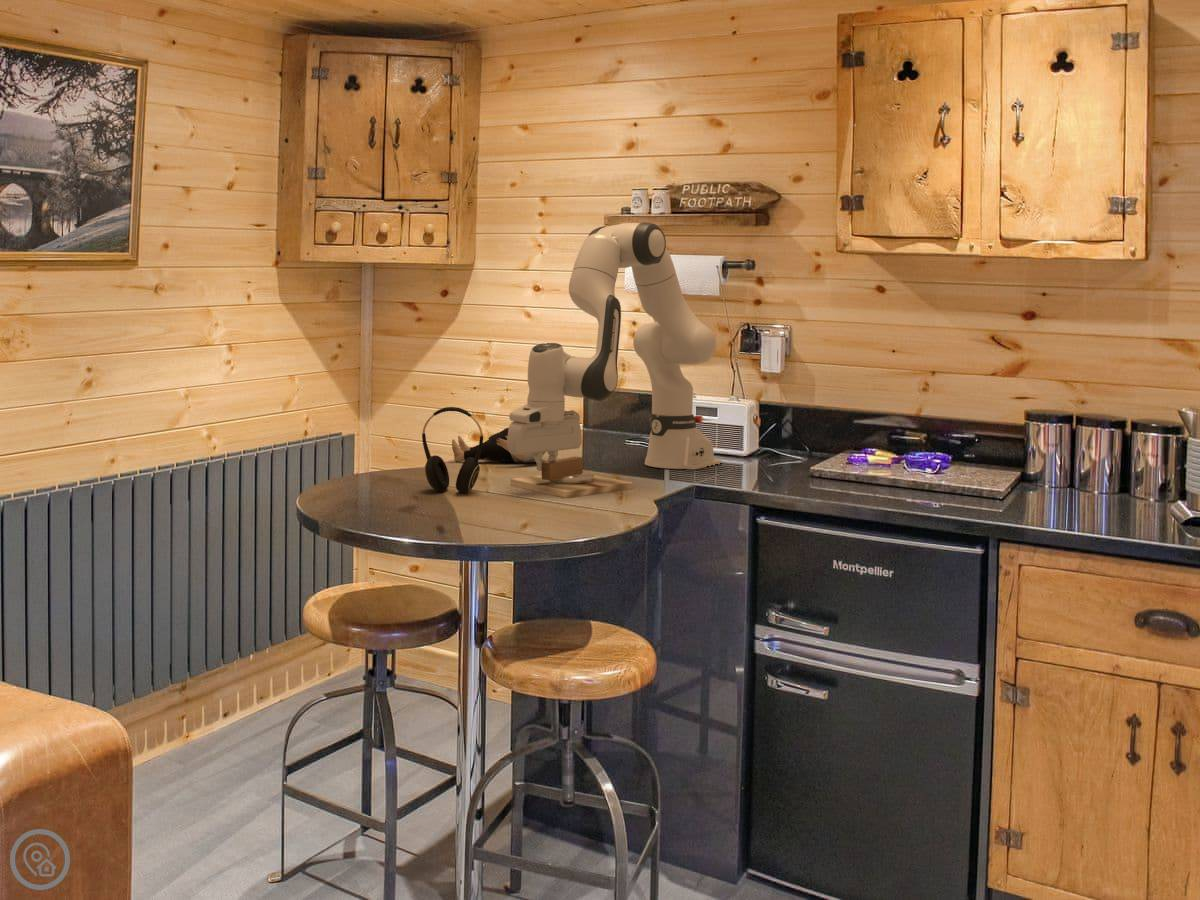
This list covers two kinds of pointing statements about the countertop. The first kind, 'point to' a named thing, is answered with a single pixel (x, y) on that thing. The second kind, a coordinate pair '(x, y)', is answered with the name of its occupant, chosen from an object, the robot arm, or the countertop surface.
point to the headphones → (438, 469)
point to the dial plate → (571, 486)
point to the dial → (566, 471)
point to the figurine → (490, 450)
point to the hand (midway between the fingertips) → (545, 470)
